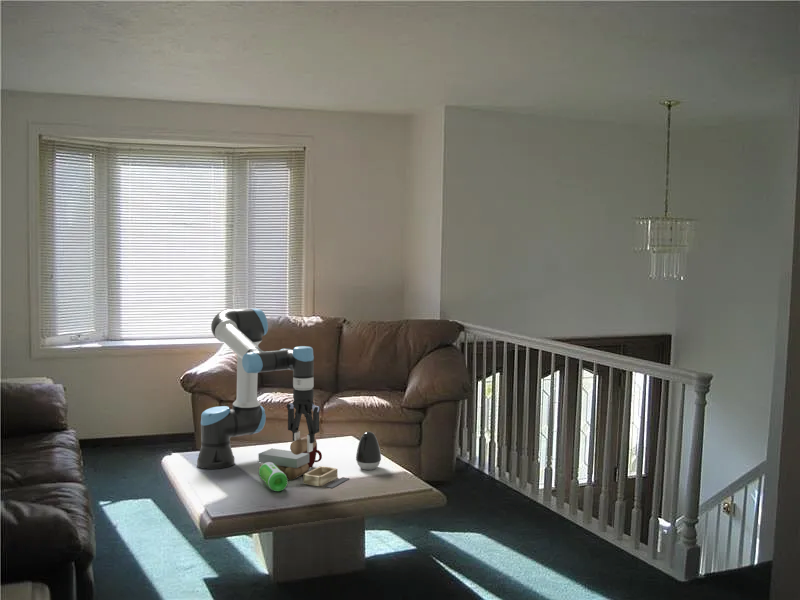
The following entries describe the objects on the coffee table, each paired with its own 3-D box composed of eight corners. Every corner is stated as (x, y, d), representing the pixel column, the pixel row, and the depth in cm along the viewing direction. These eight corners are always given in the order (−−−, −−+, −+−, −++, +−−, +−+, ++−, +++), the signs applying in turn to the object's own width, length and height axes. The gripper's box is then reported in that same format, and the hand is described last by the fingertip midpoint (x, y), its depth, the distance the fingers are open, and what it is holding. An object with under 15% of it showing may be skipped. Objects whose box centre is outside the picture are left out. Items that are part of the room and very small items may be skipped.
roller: (289, 453, 270) (290, 440, 270) (305, 447, 279) (305, 434, 279) (301, 455, 268) (301, 442, 268) (316, 449, 277) (316, 436, 277)
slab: (258, 462, 292) (258, 453, 292) (271, 456, 300) (271, 448, 300) (296, 468, 284) (296, 459, 284) (309, 462, 293) (309, 453, 292)
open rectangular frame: (302, 483, 281) (302, 474, 281) (320, 474, 293) (320, 465, 293) (320, 486, 278) (320, 477, 278) (338, 477, 290) (338, 468, 289)
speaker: (257, 480, 285) (257, 461, 285) (276, 478, 288) (276, 459, 288) (269, 494, 269) (269, 473, 269) (288, 491, 272) (288, 471, 272)
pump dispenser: (351, 470, 299) (351, 433, 298) (362, 463, 309) (362, 427, 308) (374, 473, 295) (374, 435, 294) (384, 466, 305) (384, 430, 304)
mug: (325, 465, 306) (325, 441, 305) (319, 470, 298) (319, 446, 297) (301, 463, 308) (301, 440, 308) (294, 469, 300) (294, 445, 300)
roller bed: (258, 475, 292) (258, 462, 292) (273, 468, 301) (273, 456, 301) (295, 481, 285) (294, 468, 284) (309, 474, 294) (309, 461, 293)
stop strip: (325, 487, 277) (325, 486, 277) (342, 477, 289) (342, 477, 289) (332, 488, 276) (332, 487, 276) (349, 478, 287) (349, 478, 287)
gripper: (277, 388, 273) (277, 450, 274) (318, 392, 265) (318, 455, 267) (288, 384, 280) (289, 445, 281) (329, 388, 272) (329, 451, 273)
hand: (303, 450), depth 274 cm, fingers closed on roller, 5 cm apart
